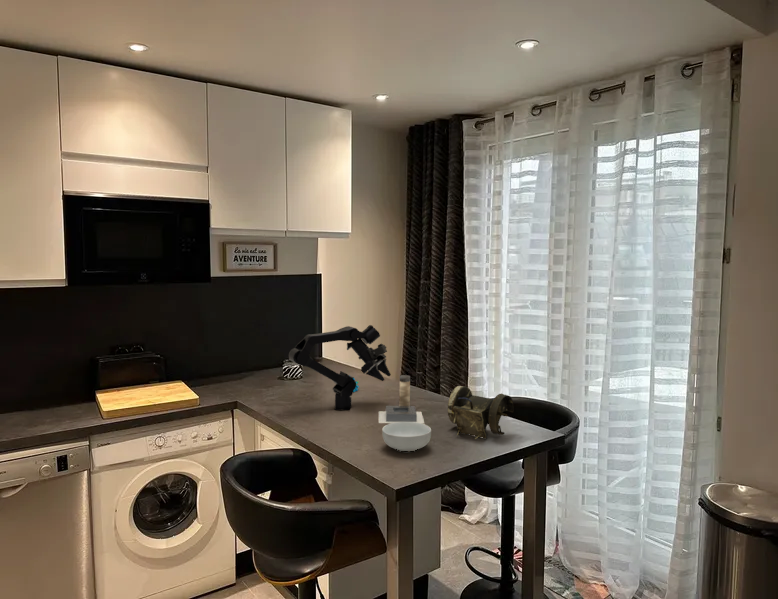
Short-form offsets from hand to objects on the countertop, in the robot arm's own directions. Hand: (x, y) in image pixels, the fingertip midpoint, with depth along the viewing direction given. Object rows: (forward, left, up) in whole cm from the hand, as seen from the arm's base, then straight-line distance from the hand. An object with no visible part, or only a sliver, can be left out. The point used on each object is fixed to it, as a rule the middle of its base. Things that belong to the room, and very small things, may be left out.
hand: (386, 377), depth 237 cm
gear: (-17, +31, -14) cm, 38 cm away
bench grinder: (+33, -31, -14) cm, 48 cm away
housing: (+6, -13, -13) cm, 20 cm away
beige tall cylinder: (+8, -2, -14) cm, 16 cm away
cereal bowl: (+6, -47, -14) cm, 50 cm away
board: (+6, -13, -14) cm, 20 cm away
